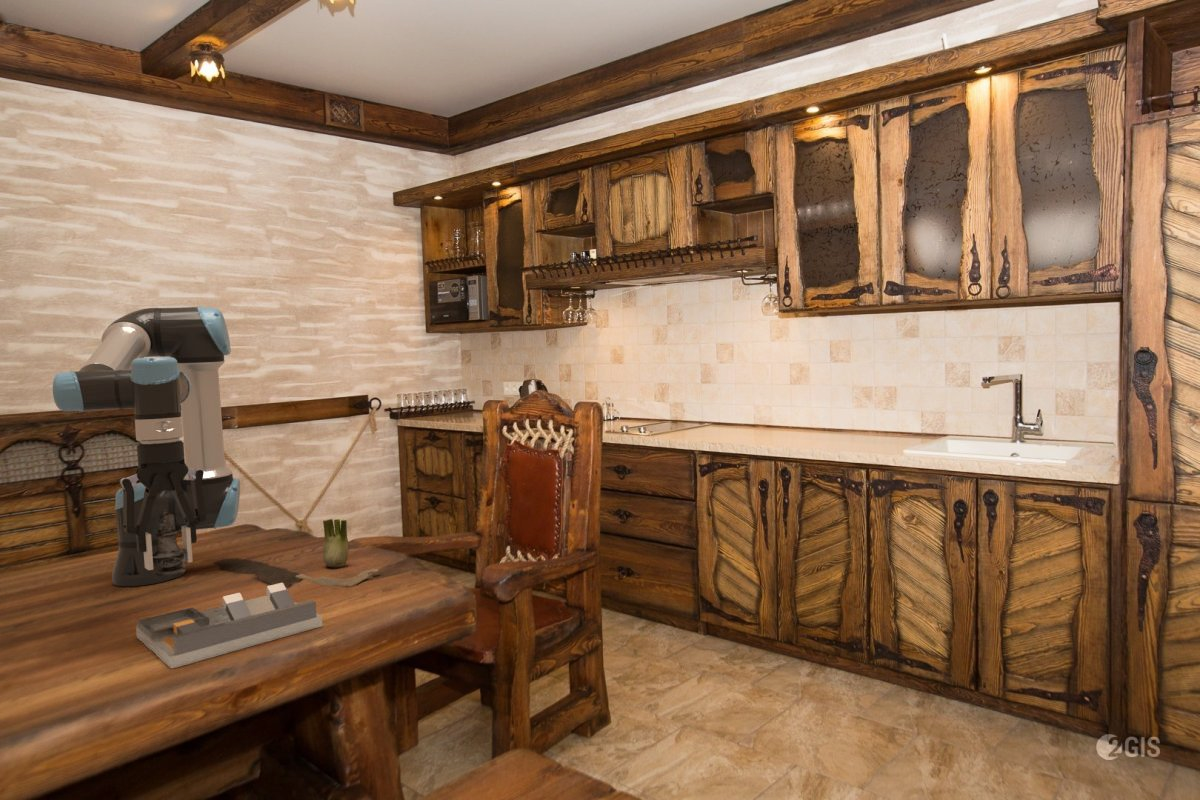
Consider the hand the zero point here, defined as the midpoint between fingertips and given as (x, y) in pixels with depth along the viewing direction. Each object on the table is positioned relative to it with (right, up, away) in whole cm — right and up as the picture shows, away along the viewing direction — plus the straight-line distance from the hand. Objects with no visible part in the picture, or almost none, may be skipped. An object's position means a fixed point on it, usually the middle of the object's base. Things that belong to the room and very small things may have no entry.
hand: (168, 564), depth 142 cm
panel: (+10, -13, +2) cm, 17 cm away
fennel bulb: (+15, -11, +46) cm, 49 cm away
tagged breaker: (+7, -11, -6) cm, 15 cm away
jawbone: (+19, -12, +37) cm, 43 cm away
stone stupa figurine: (0, -2, 0) cm, 2 cm away
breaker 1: (+14, -9, -1) cm, 16 cm away
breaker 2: (+19, -8, +4) cm, 21 cm away
